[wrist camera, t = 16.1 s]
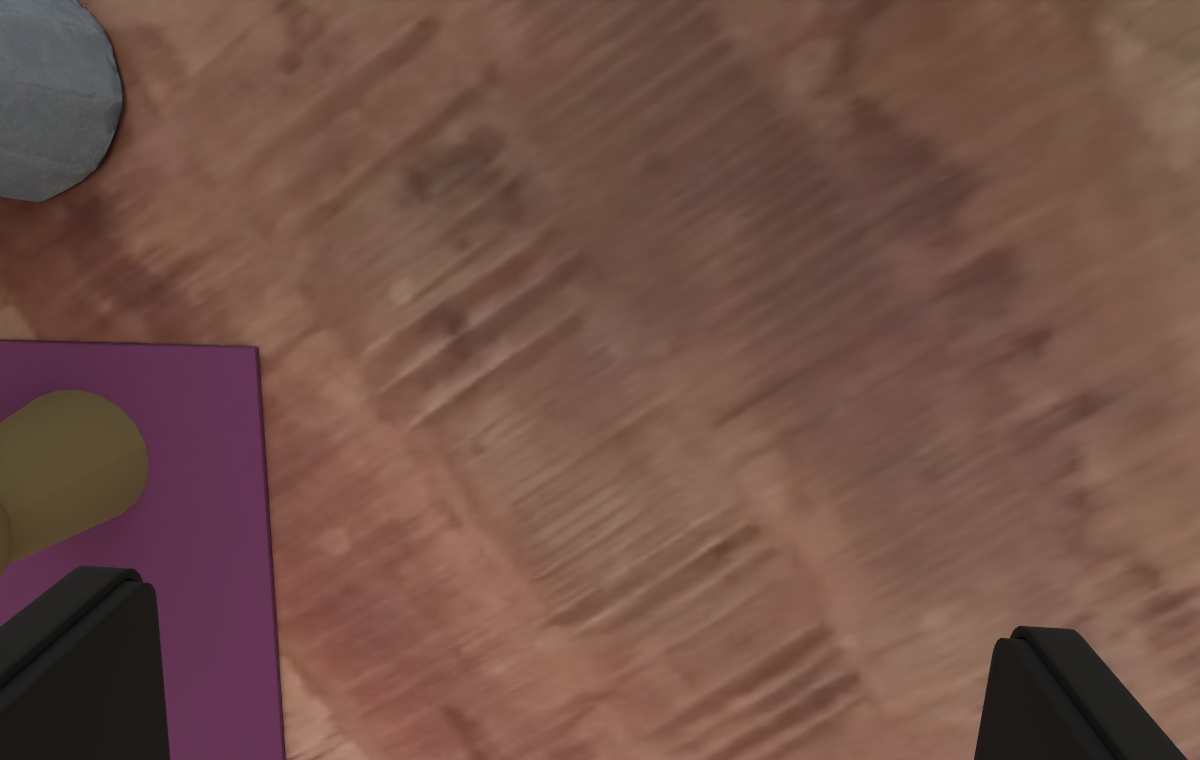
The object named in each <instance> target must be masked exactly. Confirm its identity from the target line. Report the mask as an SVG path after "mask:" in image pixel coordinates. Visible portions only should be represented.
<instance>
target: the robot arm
mask: <svg viewBox="0 0 1200 760" xmlns="http://www.w3.org/2000/svg"><path fill="white" fill-rule="evenodd" d="M0 760H170V749H169V737H168V725H167V714H166V702H165V690H164V678H163V666H162V654H161V642H160V630H159V619H158V607H157V596H156V591H155V589H154V587H153V585H152V584H150V583H147V582H143V580H142V578H141V576H140V574H139V572H138V571H136V570H135V569H131V568H115V567H100V566H79V567H77V568H75V569H74V570H72V571H71V572H70V573H69V574H67V575H66V576H65V577H63V578H62V579H61V580H60V581H58V582H57V583H56V584H54V585H53V586H52V587H51V588H49V589H48V590H47V591H45V592H44V593H43V594H42V595H40V596H39V597H38V598H36V599H35V600H34V601H33V602H31V603H30V604H29V605H27V606H26V607H25V608H24V609H22V610H21V611H20V612H18V613H17V614H16V615H15V616H13V617H12V618H11V619H9V620H8V621H7V622H6V623H4V624H3V625H2V626H0ZM974 760H1187V759H1186V757H1185V756H1184V755H1183V754H1182V753H1181V752H1180V750H1179V749H1178V748H1177V747H1176V746H1175V745H1174V743H1173V742H1172V741H1171V740H1170V739H1169V738H1168V736H1167V735H1166V734H1165V733H1164V732H1163V731H1162V729H1161V728H1160V727H1159V726H1158V725H1157V724H1156V722H1155V721H1154V720H1153V719H1152V718H1151V717H1150V715H1149V714H1148V713H1147V712H1146V711H1145V710H1144V708H1143V707H1142V706H1141V705H1140V704H1139V703H1138V701H1137V700H1136V699H1135V698H1134V697H1133V696H1132V694H1131V693H1130V692H1129V691H1128V690H1127V689H1126V688H1125V686H1124V685H1123V684H1122V683H1121V682H1120V681H1119V679H1118V678H1117V677H1116V676H1115V675H1114V674H1113V672H1112V671H1111V670H1110V669H1109V668H1108V667H1107V665H1106V664H1105V663H1104V662H1103V661H1102V660H1101V658H1100V657H1099V656H1098V655H1097V654H1096V653H1095V651H1094V650H1093V649H1092V648H1091V647H1090V646H1089V644H1088V643H1087V642H1086V641H1085V640H1084V639H1083V637H1082V636H1081V635H1080V634H1079V633H1078V632H1076V631H1075V630H1072V629H1060V628H1044V627H1029V626H1018V627H1017V628H1015V629H1014V631H1013V633H1012V634H1011V637H1010V639H1008V638H1000V639H999V640H997V642H996V644H995V647H994V650H993V655H992V660H991V666H990V672H989V677H988V683H987V689H986V694H985V700H984V706H983V711H982V717H981V723H980V728H979V734H978V740H977V745H976V751H975V757H974Z"/></svg>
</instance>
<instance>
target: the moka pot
mask: <svg viewBox="0 0 1200 760" xmlns="http://www.w3.org/2000/svg"><path fill="white" fill-rule="evenodd" d="M121 111H122V89H121V82H120V77H119V74H118V72H117V66H116V62H115V59H114V56H113V50H112V46H111V44H110V42H109V40H108V38H107V36H106V35H105V33H104V31H103V29H102V28H101V27H100V26H99V24H98V23H97V21H96V20H95V19H94V17H93V16H92V15H91V14H90V13H89V12H88V11H87V10H86V9H84V8H83V7H82V6H81V5H80V3H79V2H78V1H77V0H0V197H6V198H12V199H18V200H26V201H32V202H35V203H38V202H43V201H45V200H47V199H49V198H51V197H53V196H56V195H58V194H60V193H62V192H63V191H65V190H67V189H70V188H72V187H73V186H74V185H76V184H77V183H79V182H81V181H82V180H83V179H85V178H86V177H87V176H88V175H89V174H90V173H92V172H93V171H94V170H95V169H96V168H97V167H98V166H99V164H100V163H101V161H102V160H103V158H104V157H105V155H106V153H107V150H108V148H109V146H110V143H111V140H112V138H113V135H114V133H115V130H116V127H117V124H118V122H119V117H120V113H121Z"/></svg>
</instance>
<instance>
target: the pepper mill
mask: <svg viewBox="0 0 1200 760" xmlns="http://www.w3.org/2000/svg"><path fill="white" fill-rule="evenodd" d="M148 468H149V462H148V456H147V450H146V444H145V442H144V440H143V438H142V436H141V434H140V432H139V430H138V428H137V426H136V424H135V423H134V422H133V421H132V420H131V419H130V418H129V417H128V416H127V415H126V414H125V413H124V411H123V410H122V409H121V408H120V407H118V406H117V405H115V404H113V403H112V402H110V401H108V400H107V399H105V398H103V397H102V396H100V395H97V394H93V393H89V392H85V391H82V390H78V389H76V390H55V391H53V392H50V393H48V394H45V395H43V396H40V397H38V398H36V399H34V400H33V401H31V402H30V403H28V404H27V405H25V406H24V407H22V408H21V409H20V410H18V411H17V412H15V413H14V414H12V415H11V416H9V417H8V418H6V419H5V420H3V421H2V422H0V579H1V577H2V575H3V573H4V571H5V570H6V568H7V566H8V565H10V564H12V563H14V562H16V561H19V560H21V559H23V558H25V557H28V556H30V555H32V554H34V553H37V552H39V551H41V550H43V549H45V548H48V547H50V546H52V545H54V544H57V543H59V542H61V541H63V540H65V539H68V538H70V537H72V536H74V535H77V534H79V533H81V532H83V531H85V530H88V529H90V528H92V527H94V526H97V525H99V524H101V523H103V522H106V521H108V520H110V519H112V518H114V517H117V516H119V515H121V514H122V513H124V512H125V511H126V510H127V509H128V508H129V507H131V506H132V505H133V504H134V503H135V502H136V501H137V500H138V498H139V496H140V494H141V492H142V491H143V489H144V487H145V485H146V481H147V474H148Z"/></svg>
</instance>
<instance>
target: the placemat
mask: <svg viewBox="0 0 1200 760" xmlns="http://www.w3.org/2000/svg"><path fill="white" fill-rule="evenodd" d="M76 389H78V390H82V391H85V392H89V393H93V394H97V395H100V396H102V397H103V398H105V399H107V400H108V401H110V402H112V403H113V404H115V405H117V406H118V407H120V408H121V409H122V410H123V411H124V413H125V414H126V415H127V416H128V417H129V418H130V419H131V420H132V421H133V422H134V423H135V424H136V426H137V428H138V430H139V432H140V434H141V436H142V438H143V440H144V442H145V444H146V450H147V456H148V462H149V468H148V474H147V481H146V485H145V487H144V489H143V491H142V492H141V494H140V496H139V498H138V500H137V501H136V502H135V503H134V504H133V505H132V506H131V507H129V508H128V509H127V510H126V511H125V512H124V513H122V514H121V515H119V516H117V517H114V518H112V519H110V520H108V521H106V522H103V523H101V524H99V525H97V526H94V527H92V528H90V529H88V530H85V531H83V532H81V533H79V534H77V535H74V536H72V537H70V538H68V539H65V540H63V541H61V542H59V543H57V544H54V545H52V546H50V547H48V548H45V549H43V550H41V551H39V552H37V553H34V554H32V555H30V556H28V557H25V558H23V559H21V560H19V561H16V562H14V563H12V564H10V565H8V566H7V568H6V570H5V571H4V573H3V575H2V577H1V579H0V626H2V625H3V624H4V623H6V622H7V621H8V620H9V619H11V618H12V617H13V616H15V615H16V614H17V613H18V612H20V611H21V610H22V609H24V608H25V607H26V606H27V605H29V604H30V603H31V602H33V601H34V600H35V599H36V598H38V597H39V596H40V595H42V594H43V593H44V592H45V591H47V590H48V589H49V588H51V587H52V586H53V585H54V584H56V583H57V582H58V581H60V580H61V579H62V578H63V577H65V576H66V575H67V574H69V573H70V572H71V571H72V570H74V569H75V568H77V567H79V566H100V567H115V568H131V569H135V570H136V571H138V572H139V574H140V576H141V578H142V580H143V582H147V583H150V584H152V585H153V587H154V589H155V591H156V596H157V607H158V619H159V630H160V642H161V654H162V666H163V678H164V690H165V702H166V714H167V725H168V737H169V749H170V760H285V746H284V731H283V716H282V701H281V686H280V671H279V656H278V640H277V625H276V610H275V595H274V580H273V565H272V550H271V535H270V520H269V505H268V489H267V474H266V459H265V444H264V429H263V414H262V399H261V384H260V369H259V354H258V347H240V346H204V345H168V344H131V343H95V342H59V341H23V340H0V422H2V421H3V420H5V419H6V418H8V417H9V416H11V415H12V414H14V413H15V412H17V411H18V410H20V409H21V408H22V407H24V406H25V405H27V404H28V403H30V402H31V401H33V400H34V399H36V398H38V397H40V396H43V395H45V394H48V393H50V392H53V391H55V390H76Z"/></svg>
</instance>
